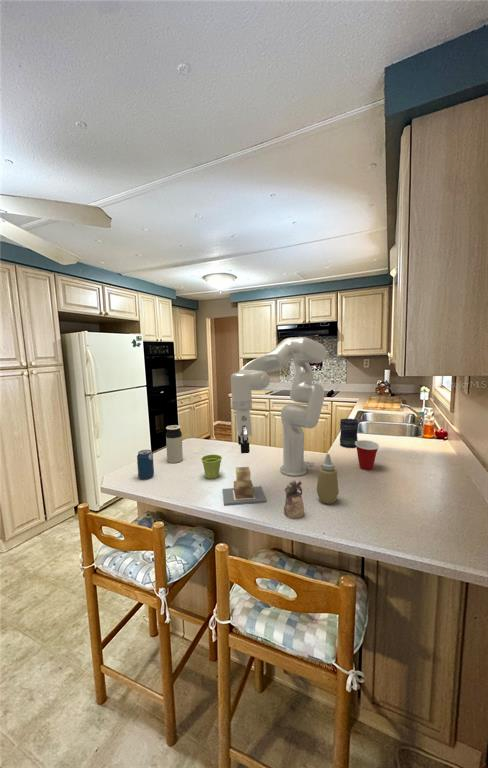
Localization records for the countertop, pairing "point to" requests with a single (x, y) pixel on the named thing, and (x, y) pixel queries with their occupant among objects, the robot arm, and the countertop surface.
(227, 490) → the slate mat
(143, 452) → the soda can
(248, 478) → the oak cube
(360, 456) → the plastic cup
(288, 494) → the figurine
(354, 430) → the storage jar
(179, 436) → the travel mug
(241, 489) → the walnut base
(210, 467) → the plant pot
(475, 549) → the countertop surface
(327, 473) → the squeeze bottle
